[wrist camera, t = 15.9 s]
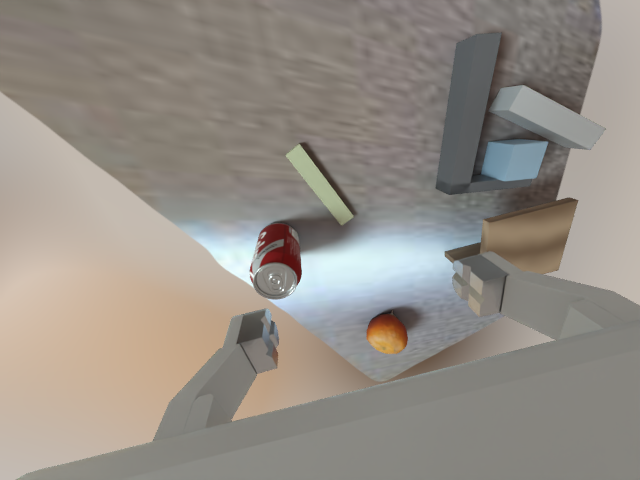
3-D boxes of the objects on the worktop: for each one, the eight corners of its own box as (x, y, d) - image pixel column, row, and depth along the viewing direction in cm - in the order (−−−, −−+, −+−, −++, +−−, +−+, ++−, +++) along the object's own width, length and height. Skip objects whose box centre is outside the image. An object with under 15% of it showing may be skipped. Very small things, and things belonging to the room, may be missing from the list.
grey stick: (486, 111, 36) (508, 110, 32) (499, 88, 34) (523, 85, 31) (563, 147, 39) (590, 149, 36) (576, 127, 38) (606, 128, 35)
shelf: (445, 199, 41) (489, 222, 32) (514, 181, 41) (578, 200, 32) (444, 255, 46) (482, 289, 37) (505, 240, 46) (558, 270, 37)
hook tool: (456, 43, 31) (477, 34, 28) (549, 37, 32) (581, 27, 29) (435, 187, 40) (449, 194, 36) (509, 180, 41) (530, 185, 37)
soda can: (297, 219, 40) (299, 256, 29) (300, 254, 43) (304, 300, 32) (255, 223, 39) (242, 262, 29) (262, 258, 42) (252, 306, 32)
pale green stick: (351, 213, 41) (353, 216, 40) (339, 222, 41) (341, 225, 40) (299, 142, 35) (299, 144, 34) (285, 154, 35) (285, 155, 34)
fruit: (414, 326, 52) (410, 363, 47) (379, 325, 57) (372, 358, 51) (403, 302, 49) (397, 338, 43) (366, 303, 53) (357, 335, 48)
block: (487, 141, 38) (514, 144, 33) (518, 138, 38) (548, 141, 33) (480, 174, 40) (504, 181, 35) (509, 171, 40) (536, 178, 36)
